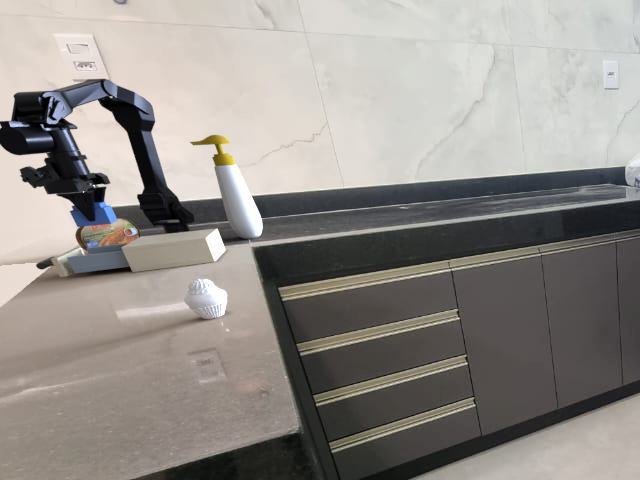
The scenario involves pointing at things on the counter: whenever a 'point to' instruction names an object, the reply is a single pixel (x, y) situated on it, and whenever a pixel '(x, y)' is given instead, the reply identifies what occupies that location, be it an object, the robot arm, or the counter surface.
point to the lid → (102, 215)
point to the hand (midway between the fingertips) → (96, 219)
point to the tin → (107, 234)
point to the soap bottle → (234, 192)
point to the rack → (87, 260)
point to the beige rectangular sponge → (174, 250)
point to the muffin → (206, 299)
